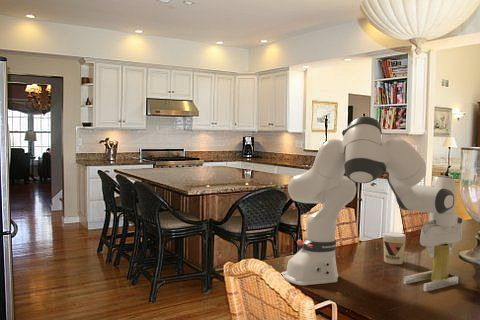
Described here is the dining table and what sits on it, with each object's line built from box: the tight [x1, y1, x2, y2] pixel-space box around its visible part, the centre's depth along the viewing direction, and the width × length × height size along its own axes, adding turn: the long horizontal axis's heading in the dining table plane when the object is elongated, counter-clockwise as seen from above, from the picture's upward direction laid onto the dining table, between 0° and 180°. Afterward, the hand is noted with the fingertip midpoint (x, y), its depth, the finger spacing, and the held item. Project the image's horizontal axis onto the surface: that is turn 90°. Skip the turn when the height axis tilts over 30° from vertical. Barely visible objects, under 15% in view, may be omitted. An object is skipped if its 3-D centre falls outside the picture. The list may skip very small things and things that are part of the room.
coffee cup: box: [382, 231, 407, 265], centre depth 185 cm, size 9×9×12 cm
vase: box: [430, 244, 450, 282], centre depth 160 cm, size 6×6×14 cm
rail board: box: [403, 270, 462, 292], centre depth 158 cm, size 20×10×2 cm, turn 119°
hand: (440, 255), depth 161 cm, fingers open, 8 cm apart
